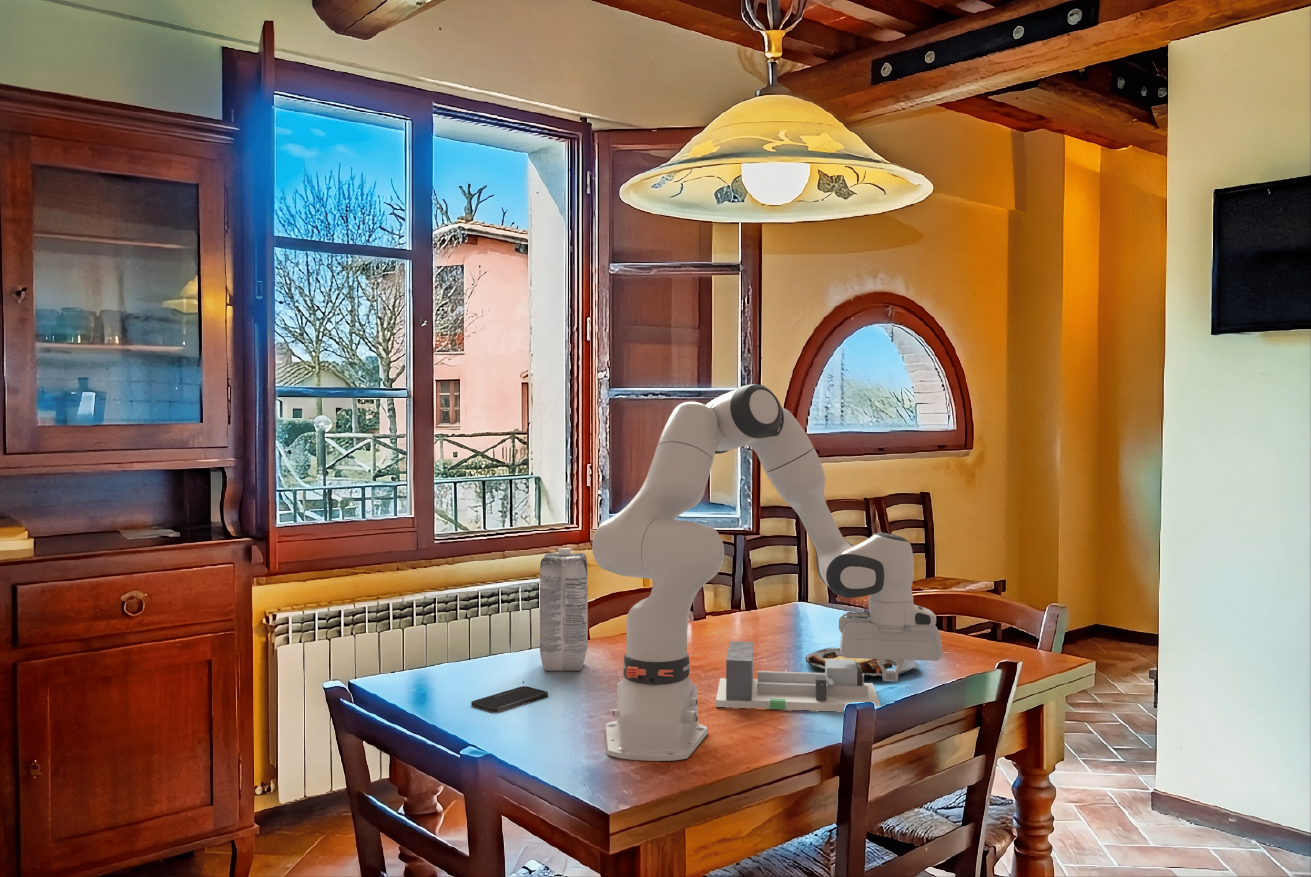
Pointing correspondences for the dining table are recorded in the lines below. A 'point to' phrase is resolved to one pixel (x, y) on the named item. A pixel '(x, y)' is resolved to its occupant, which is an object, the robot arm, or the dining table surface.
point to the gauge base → (797, 693)
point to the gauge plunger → (842, 673)
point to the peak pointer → (820, 688)
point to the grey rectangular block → (739, 671)
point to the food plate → (866, 665)
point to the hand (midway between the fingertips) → (890, 680)
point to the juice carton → (563, 610)
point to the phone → (509, 699)
